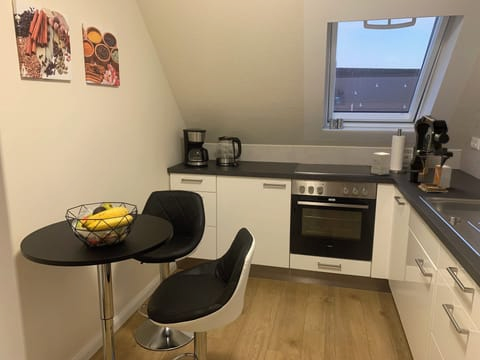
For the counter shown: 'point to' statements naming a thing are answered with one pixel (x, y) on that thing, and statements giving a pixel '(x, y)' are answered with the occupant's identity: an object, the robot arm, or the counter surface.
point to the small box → (442, 176)
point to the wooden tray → (432, 187)
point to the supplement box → (380, 163)
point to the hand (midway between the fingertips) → (432, 167)
